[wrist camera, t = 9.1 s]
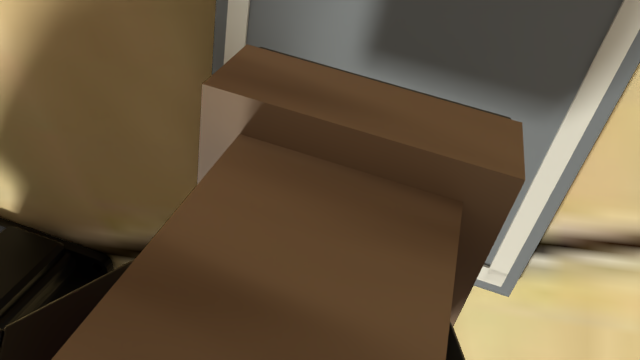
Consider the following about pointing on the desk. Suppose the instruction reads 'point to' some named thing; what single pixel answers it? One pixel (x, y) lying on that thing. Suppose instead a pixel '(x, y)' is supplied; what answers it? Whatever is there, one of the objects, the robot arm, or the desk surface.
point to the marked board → (472, 76)
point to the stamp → (315, 223)
